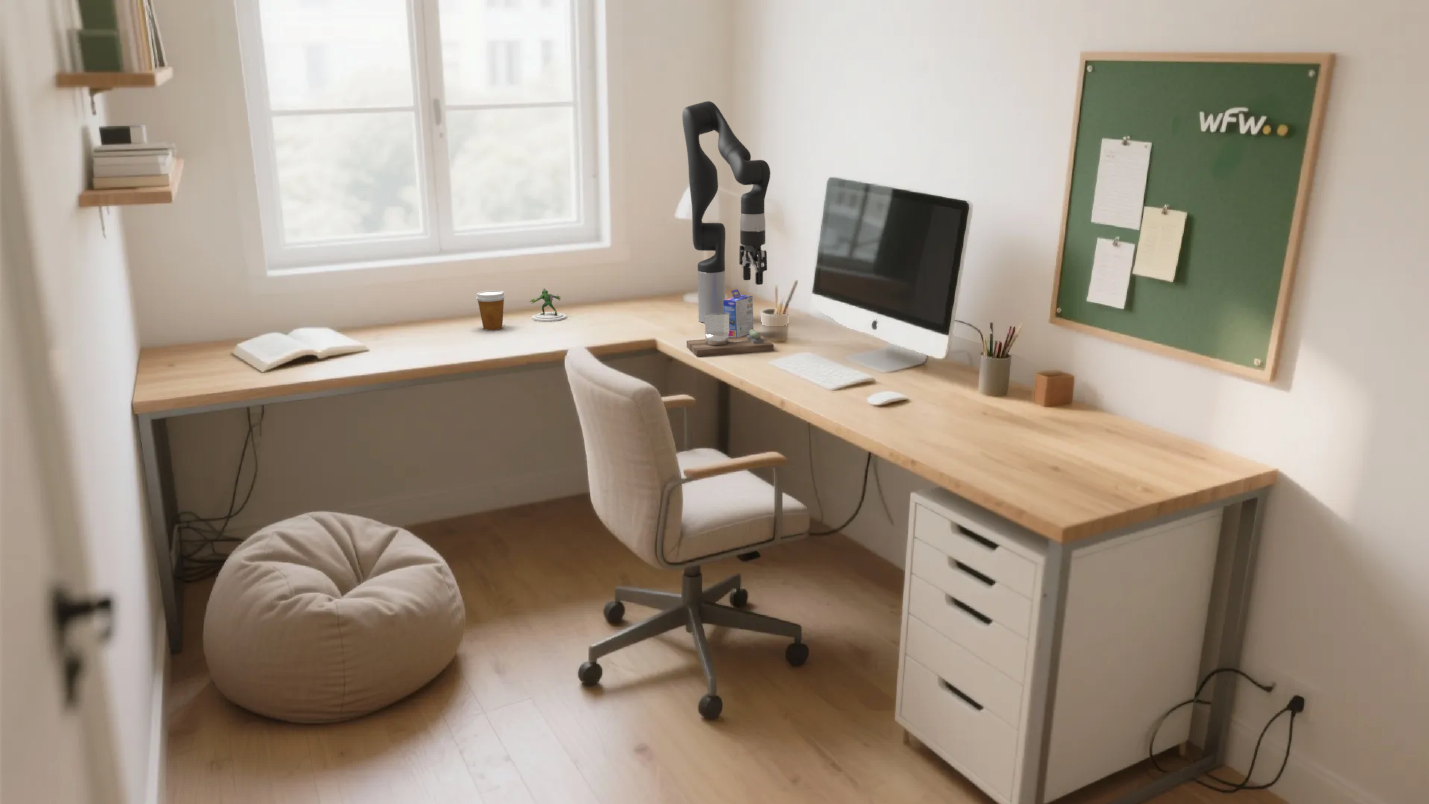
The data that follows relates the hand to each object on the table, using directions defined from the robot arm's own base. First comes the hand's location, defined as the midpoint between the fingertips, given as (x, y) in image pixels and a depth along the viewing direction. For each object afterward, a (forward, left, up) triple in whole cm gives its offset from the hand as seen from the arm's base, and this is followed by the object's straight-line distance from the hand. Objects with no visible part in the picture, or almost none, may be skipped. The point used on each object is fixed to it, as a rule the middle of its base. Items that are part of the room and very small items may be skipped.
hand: (753, 282), depth 336 cm
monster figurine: (-63, -56, -20) cm, 86 cm away
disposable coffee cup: (-53, -76, -20) cm, 94 cm away
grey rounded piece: (0, -12, -18) cm, 21 cm away
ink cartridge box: (-18, 0, -20) cm, 27 cm away
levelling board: (0, -8, -20) cm, 22 cm away
